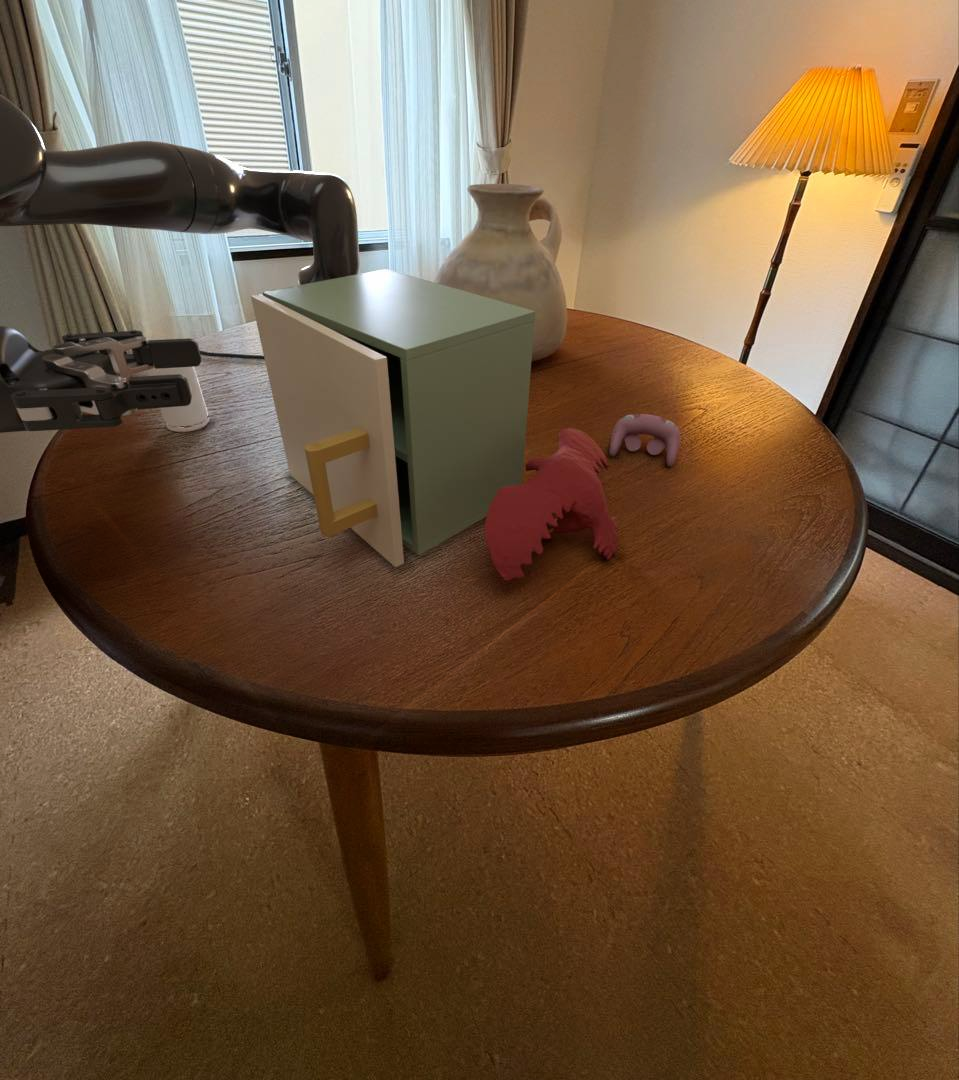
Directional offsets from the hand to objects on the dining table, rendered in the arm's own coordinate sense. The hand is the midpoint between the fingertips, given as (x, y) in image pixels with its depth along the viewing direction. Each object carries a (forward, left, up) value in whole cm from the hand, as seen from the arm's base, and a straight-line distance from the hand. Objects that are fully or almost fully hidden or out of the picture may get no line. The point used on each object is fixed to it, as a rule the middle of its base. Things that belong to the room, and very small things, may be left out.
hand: (194, 369), depth 45 cm
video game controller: (+12, +56, -24) cm, 62 cm away
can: (-44, +11, -24) cm, 51 cm away
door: (-6, +11, -24) cm, 27 cm away
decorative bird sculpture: (+17, +31, -24) cm, 43 cm away
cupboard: (-6, +25, -24) cm, 35 cm away
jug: (-34, +74, -24) cm, 85 cm away
